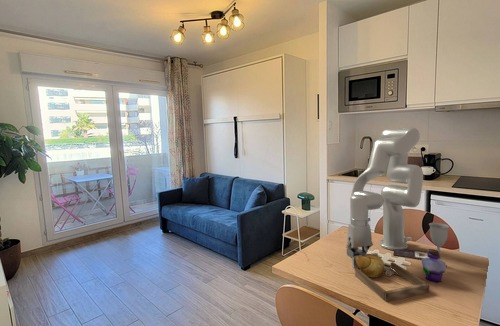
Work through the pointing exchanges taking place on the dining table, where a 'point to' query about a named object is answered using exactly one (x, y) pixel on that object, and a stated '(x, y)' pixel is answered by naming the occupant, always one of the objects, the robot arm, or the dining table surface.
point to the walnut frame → (399, 293)
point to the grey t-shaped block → (360, 252)
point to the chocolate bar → (410, 254)
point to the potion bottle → (433, 266)
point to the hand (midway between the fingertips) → (359, 260)
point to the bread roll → (370, 265)
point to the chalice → (438, 234)
